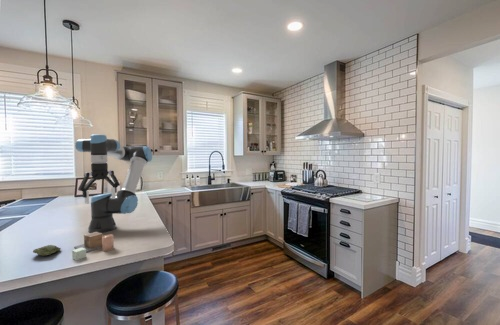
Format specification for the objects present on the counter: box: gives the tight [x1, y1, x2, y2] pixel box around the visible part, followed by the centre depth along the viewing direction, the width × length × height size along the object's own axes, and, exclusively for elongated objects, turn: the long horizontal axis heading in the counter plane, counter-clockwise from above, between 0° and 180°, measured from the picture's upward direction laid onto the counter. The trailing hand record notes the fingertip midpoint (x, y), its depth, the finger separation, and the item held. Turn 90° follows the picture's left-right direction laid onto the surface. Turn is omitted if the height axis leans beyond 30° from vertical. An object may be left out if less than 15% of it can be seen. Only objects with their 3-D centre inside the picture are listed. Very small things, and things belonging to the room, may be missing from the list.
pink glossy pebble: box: [101, 234, 115, 252], centre depth 115 cm, size 5×5×7 cm
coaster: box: [73, 243, 102, 254], centre depth 119 cm, size 12×12×1 cm
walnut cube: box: [83, 232, 103, 248], centre depth 119 cm, size 6×6×6 cm
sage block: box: [71, 247, 87, 261], centre depth 106 cm, size 4×4×4 cm
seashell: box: [32, 244, 62, 257], centre depth 110 cm, size 10×7×10 cm
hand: (100, 200), depth 124 cm, fingers open, 13 cm apart
